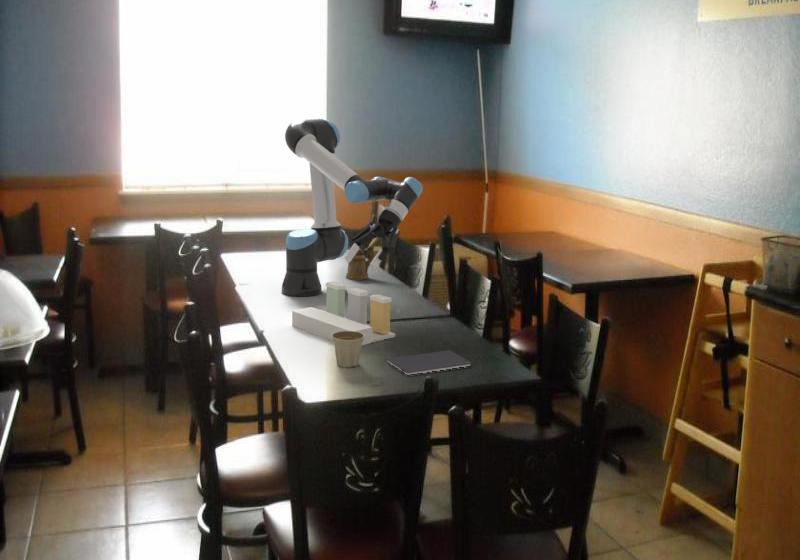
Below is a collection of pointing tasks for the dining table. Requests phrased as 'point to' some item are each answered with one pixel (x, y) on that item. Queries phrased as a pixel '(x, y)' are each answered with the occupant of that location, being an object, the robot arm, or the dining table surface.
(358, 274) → the wooden mug
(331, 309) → the pale green tall block
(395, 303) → the dining table surface
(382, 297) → the yellow tall block
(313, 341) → the dining table surface
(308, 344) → the dining table surface
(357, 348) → the flower pot
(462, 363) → the notebook
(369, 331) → the keypad base
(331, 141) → the robot arm
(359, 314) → the grey tall block
